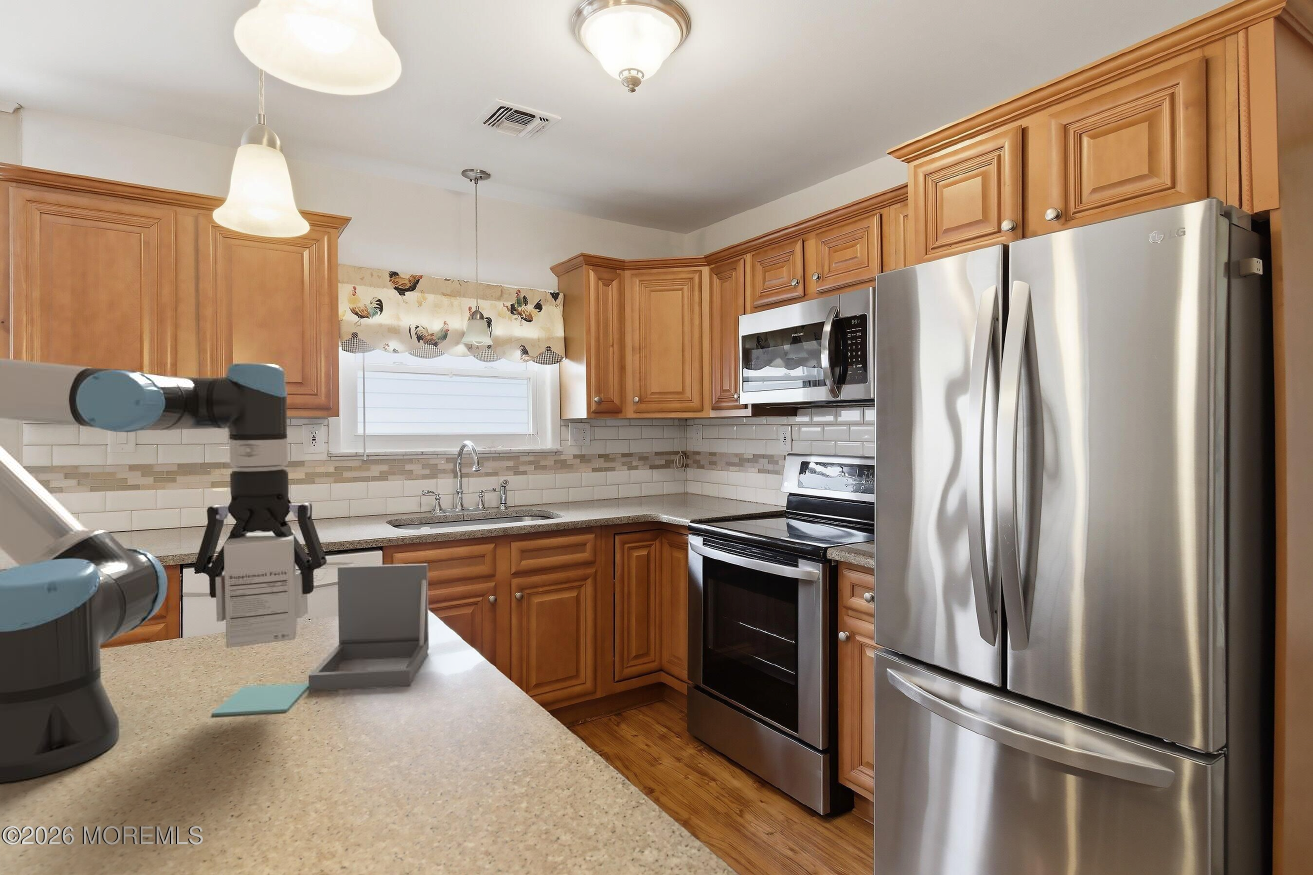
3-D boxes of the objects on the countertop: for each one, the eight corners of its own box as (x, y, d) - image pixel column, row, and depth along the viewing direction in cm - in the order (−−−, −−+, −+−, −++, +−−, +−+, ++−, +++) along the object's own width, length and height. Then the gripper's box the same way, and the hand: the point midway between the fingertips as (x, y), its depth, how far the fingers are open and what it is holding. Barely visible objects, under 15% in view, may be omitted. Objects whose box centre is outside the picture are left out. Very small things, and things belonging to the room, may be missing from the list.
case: (308, 691, 108) (306, 588, 108) (340, 656, 124) (339, 566, 124) (409, 685, 110) (408, 584, 110) (428, 652, 126) (427, 563, 126)
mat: (211, 715, 100) (211, 713, 100) (243, 688, 109) (243, 686, 109) (286, 711, 101) (286, 708, 101) (311, 685, 111) (311, 682, 111)
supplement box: (232, 631, 107) (230, 533, 107) (298, 623, 111) (296, 529, 110) (224, 649, 99) (221, 543, 98) (295, 640, 103) (293, 538, 102)
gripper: (161, 471, 99) (166, 628, 100) (332, 469, 102) (335, 620, 103) (189, 468, 106) (193, 613, 107) (347, 465, 109) (350, 607, 110)
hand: (263, 617), depth 105 cm, fingers closed on supplement box, 10 cm apart
